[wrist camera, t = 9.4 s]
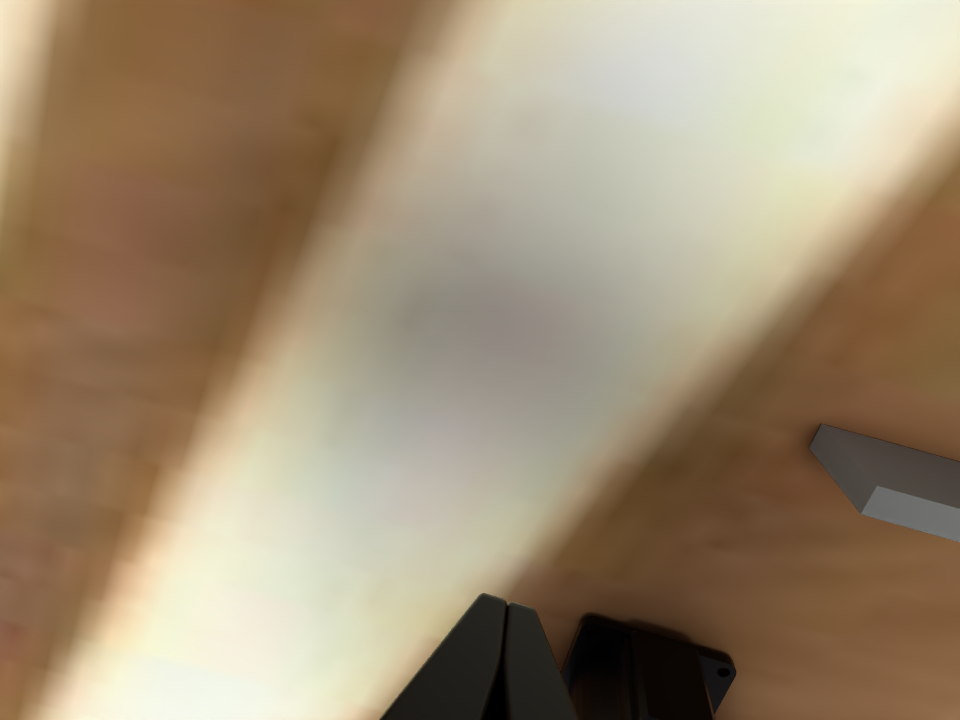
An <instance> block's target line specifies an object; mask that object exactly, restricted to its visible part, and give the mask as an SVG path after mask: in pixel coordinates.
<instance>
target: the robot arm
mask: <svg viewBox="0 0 960 720" xmlns="http://www.w3.org/2000/svg"><path fill="white" fill-rule="evenodd" d="M589 628H595V629H596V630H590V629H589ZM719 668H724V669H719ZM735 676H736V669H735V666H734V663H733V660H732V659H731V658H729V657H727V656H725V655H722V654H718V653H715V652H712V651H709V650H705V649H702V648H699V647H695V646H692V645H689V644H685V643H682V642H679V641H675V640H672V639H669V638H665V637H662V636H659V635H656V634H652V633H649V632H646V631H642V630H639V629H636V628H632V627H629V626H626V625H622V624H619V623H616V622H612V621H609V620H606V619H602V618H599V617H596V616H587V617H585V618H583V619H582V621H581V622H580V625H579V627H578V630H577V633H576V635H575V638H574V640H573V643H572V645H571V648H570V650H569V653H568V655H567V658H566V660H565V663H564V665H563V668H562V670H561V673H560V670H559V668H558V665H557V663H556V660H555V658H554V655H553V653H552V650H551V648H550V645H549V643H548V640H547V638H546V635H545V633H544V630H543V627H542V625H541V622H540V620H539V617H538V615H537V613H536V611H535V610H534V609H533V608H532V607H529V606H526V605H522V604H519V603H516V602H509V603H508V604H507V602H506V600H505V599H503V598H499V597H496V596H493V595H489V594H486V593H482V594H480V595H479V596H478V597H477V599H476V600H475V601H474V602H473V604H472V605H471V606H470V607H469V608H468V610H467V611H466V612H465V613H464V615H463V616H462V617H461V618H460V620H459V621H458V622H457V623H456V625H455V626H454V627H453V628H452V630H451V631H450V632H449V633H448V635H447V636H446V637H445V638H444V640H443V641H442V642H441V643H440V644H439V646H438V647H437V648H436V649H435V651H434V652H433V653H432V654H431V656H430V657H429V658H428V659H427V661H426V662H425V663H424V664H423V666H422V667H421V668H420V669H419V671H418V672H417V673H416V674H415V675H414V677H413V678H412V679H411V680H410V682H409V683H408V684H407V685H406V687H405V688H404V689H403V690H402V692H401V693H400V694H399V695H398V697H397V698H396V699H395V700H394V702H393V703H392V704H391V705H390V707H389V708H388V709H387V710H386V711H385V713H384V714H383V715H382V716H381V718H380V719H379V720H715V716H714V714H715V712H716V710H717V709H718V707H719V705H720V703H721V701H722V700H723V698H724V696H725V694H726V692H727V691H728V689H729V687H730V685H731V683H732V682H733V680H734V678H735Z"/></svg>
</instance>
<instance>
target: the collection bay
mask: <svg viewBox="0 0 960 720" xmlns="http://www.w3.org/2000/svg"><path fill="white" fill-rule="evenodd" d="M809 449H810V450H811V451H812V453H813V454H814V455H815V456H816V458H817V459H818V460H819V462H820V463H821V464H822V465H823V467H824V468H825V469H826V470H827V472H828V473H829V474H830V476H831V477H832V478H833V479H834V481H835V482H836V483H837V485H838V486H839V487H840V488H841V490H842V491H843V492H844V494H845V495H846V496H847V497H848V499H849V500H850V501H851V502H852V504H853V505H854V506H855V508H856V509H857V510H858V511H859V513H860V514H862V515H866V516H869V517H873V518H876V519H880V520H883V521H887V522H890V523H894V524H897V525H901V526H904V527H908V528H911V529H915V530H918V531H922V532H926V533H929V534H933V535H936V536H940V537H943V538H947V539H950V540H954V541H957V542H960V462H959V461H955V460H951V459H948V458H944V457H940V456H937V455H933V454H929V453H926V452H922V451H919V450H915V449H911V448H908V447H904V446H900V445H897V444H893V443H889V442H886V441H882V440H879V439H875V438H871V437H868V436H864V435H860V434H857V433H853V432H849V431H846V430H842V429H839V428H835V427H831V426H828V425H824V424H821V426H820V428H819V430H818V432H817V434H816V435H815V437H814V439H813V441H812V443H811V445H810V447H809Z"/></svg>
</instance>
